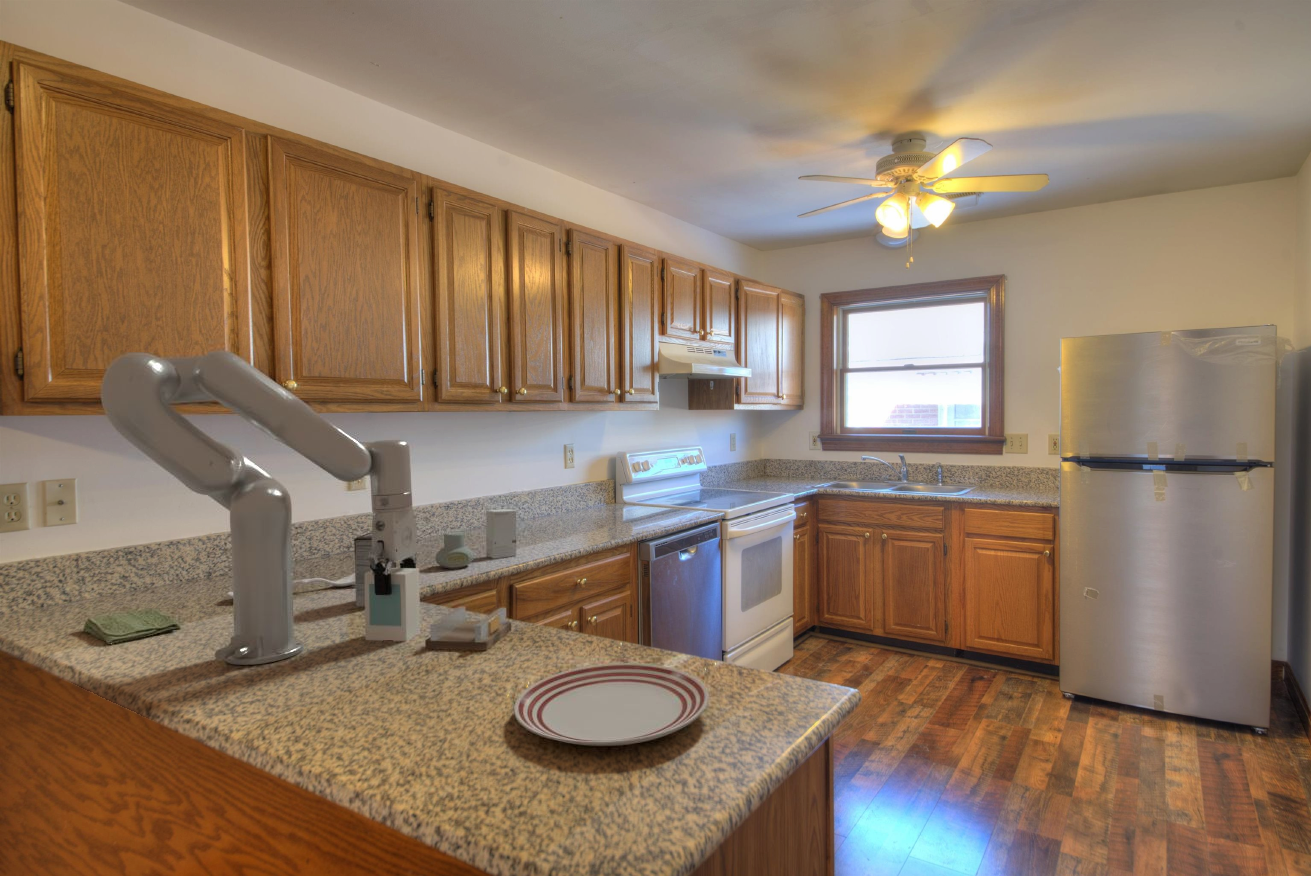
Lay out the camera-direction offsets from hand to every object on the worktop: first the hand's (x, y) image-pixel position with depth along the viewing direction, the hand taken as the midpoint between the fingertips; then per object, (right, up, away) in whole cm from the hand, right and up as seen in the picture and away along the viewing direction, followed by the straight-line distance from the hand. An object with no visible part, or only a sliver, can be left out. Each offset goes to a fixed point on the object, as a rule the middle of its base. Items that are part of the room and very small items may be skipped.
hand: (396, 588), depth 138 cm
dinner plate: (+45, -10, -39) cm, 61 cm away
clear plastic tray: (+15, -8, -3) cm, 17 cm away
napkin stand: (+15, -9, -2) cm, 18 cm away
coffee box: (-15, -9, +27) cm, 32 cm away
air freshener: (-8, -9, +68) cm, 69 cm away
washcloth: (-57, -11, +6) cm, 58 cm away
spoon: (-38, -10, +38) cm, 54 cm away
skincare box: (+2, -8, +83) cm, 84 cm away
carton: (-1, -10, 0) cm, 9 cm away
